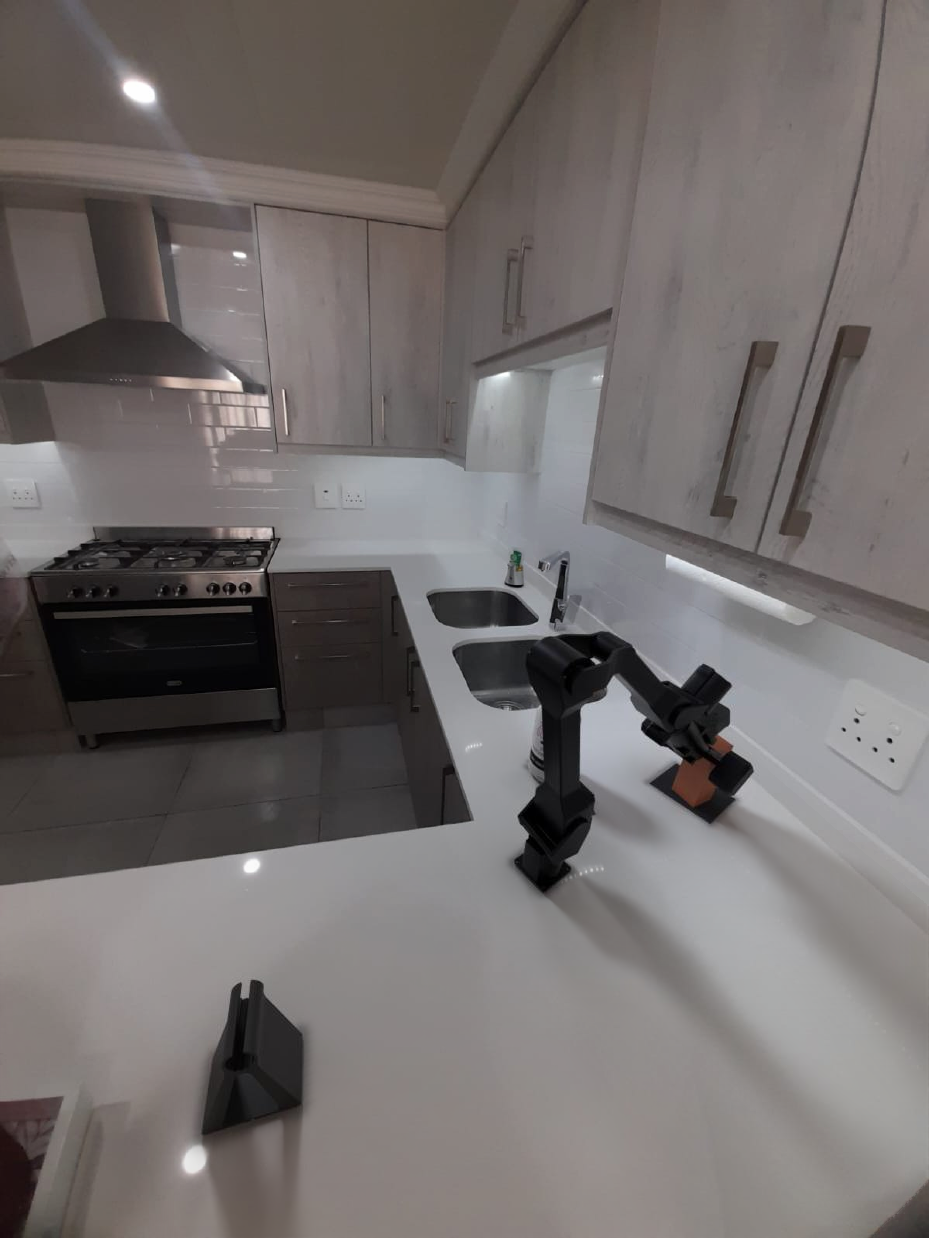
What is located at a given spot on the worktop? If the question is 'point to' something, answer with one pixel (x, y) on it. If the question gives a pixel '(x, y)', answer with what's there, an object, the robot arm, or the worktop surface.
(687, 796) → the terracotta block
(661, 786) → the mat
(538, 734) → the supplement can
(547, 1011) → the worktop surface
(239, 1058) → the phone stand
